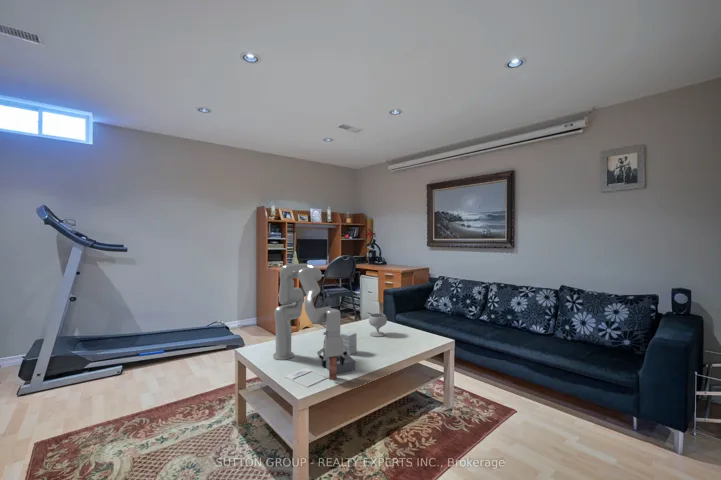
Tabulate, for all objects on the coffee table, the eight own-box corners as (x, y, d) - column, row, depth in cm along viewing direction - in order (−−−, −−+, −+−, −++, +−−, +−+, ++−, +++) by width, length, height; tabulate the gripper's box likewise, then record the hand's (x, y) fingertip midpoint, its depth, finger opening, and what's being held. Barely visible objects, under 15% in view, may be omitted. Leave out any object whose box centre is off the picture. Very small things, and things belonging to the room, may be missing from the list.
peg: (328, 377, 167) (328, 351, 167) (335, 376, 169) (335, 350, 169) (330, 380, 163) (330, 353, 163) (337, 379, 165) (338, 352, 165)
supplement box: (348, 349, 209) (348, 330, 209) (356, 352, 205) (357, 332, 205) (340, 352, 204) (340, 333, 204) (349, 355, 199) (349, 335, 199)
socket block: (323, 364, 184) (323, 356, 184) (346, 361, 189) (346, 352, 189) (331, 374, 171) (331, 365, 171) (355, 370, 177) (355, 361, 177)
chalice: (367, 332, 249) (367, 313, 249) (384, 331, 251) (384, 312, 251) (370, 337, 235) (370, 317, 235) (388, 337, 238) (389, 317, 238)
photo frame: (306, 367, 178) (328, 376, 167) (306, 369, 178) (328, 378, 167) (284, 376, 167) (307, 386, 155) (284, 378, 167) (307, 388, 155)
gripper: (319, 337, 159) (319, 371, 159) (351, 333, 166) (351, 366, 166) (315, 333, 166) (315, 366, 166) (345, 329, 173) (345, 361, 173)
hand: (333, 366), depth 166 cm, fingers open, 9 cm apart
